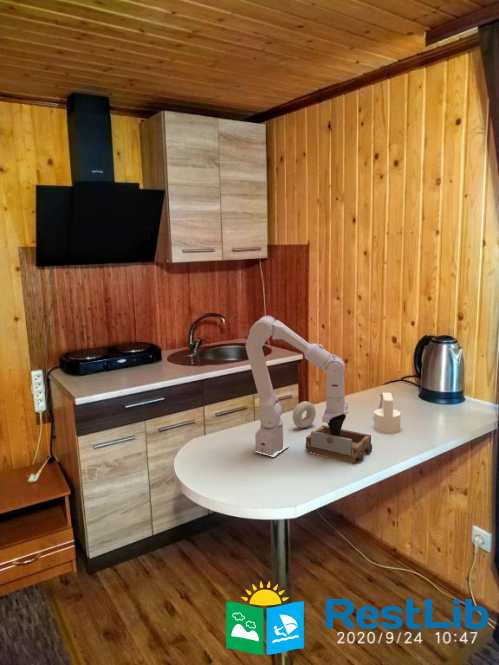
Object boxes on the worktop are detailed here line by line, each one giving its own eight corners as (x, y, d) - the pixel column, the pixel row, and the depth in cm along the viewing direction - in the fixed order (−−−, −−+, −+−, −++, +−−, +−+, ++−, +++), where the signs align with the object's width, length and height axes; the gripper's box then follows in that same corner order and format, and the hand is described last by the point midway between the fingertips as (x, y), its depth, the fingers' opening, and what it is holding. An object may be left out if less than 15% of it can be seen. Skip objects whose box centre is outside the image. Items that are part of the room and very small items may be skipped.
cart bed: (358, 464, 145) (358, 449, 144) (304, 451, 156) (303, 436, 155) (373, 450, 155) (373, 435, 154) (320, 438, 165) (320, 424, 164)
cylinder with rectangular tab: (401, 433, 167) (402, 401, 165) (374, 432, 169) (375, 400, 166) (398, 424, 175) (399, 392, 173) (373, 423, 177) (373, 392, 175)
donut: (296, 432, 172) (296, 405, 170) (290, 429, 174) (290, 403, 172) (317, 425, 177) (317, 399, 175) (311, 423, 180) (311, 397, 178)
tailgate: (349, 456, 145) (349, 441, 145) (309, 447, 153) (309, 432, 152) (352, 454, 147) (352, 439, 146) (312, 445, 155) (312, 430, 154)
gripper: (337, 404, 142) (337, 447, 144) (356, 391, 153) (356, 431, 156) (315, 401, 146) (316, 443, 148) (336, 388, 157) (336, 427, 160)
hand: (335, 437), depth 152 cm, fingers closed
